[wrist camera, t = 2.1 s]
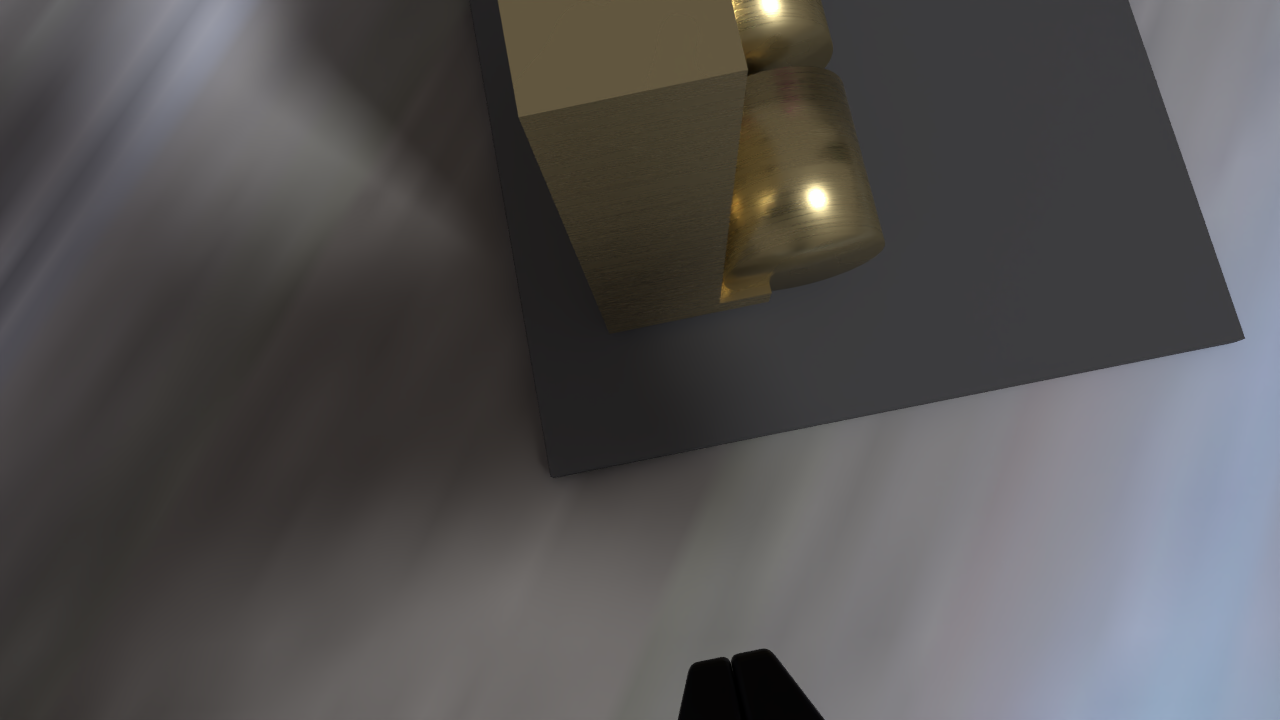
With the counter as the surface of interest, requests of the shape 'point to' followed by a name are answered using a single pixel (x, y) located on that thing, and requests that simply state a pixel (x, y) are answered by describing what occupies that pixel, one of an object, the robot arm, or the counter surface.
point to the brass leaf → (692, 149)
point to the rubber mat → (903, 241)
